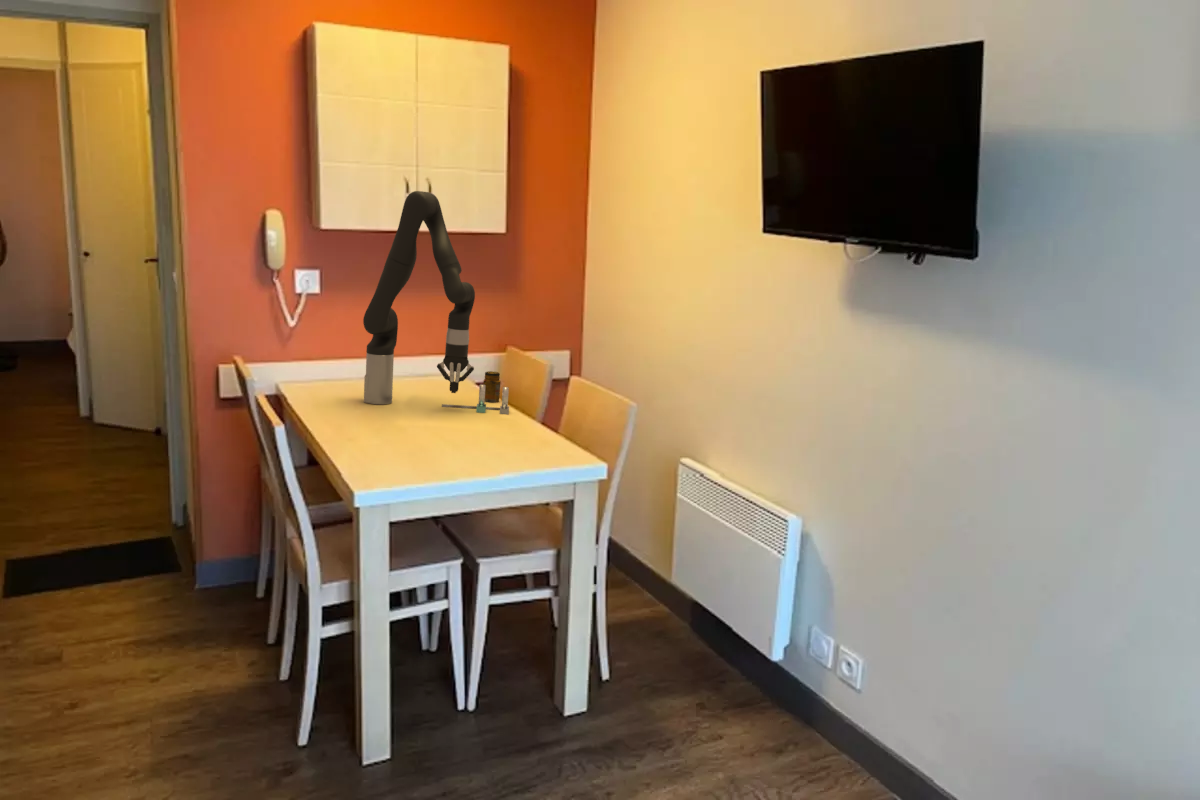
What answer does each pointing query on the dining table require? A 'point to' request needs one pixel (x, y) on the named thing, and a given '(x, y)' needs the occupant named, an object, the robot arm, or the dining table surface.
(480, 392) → the slider leg
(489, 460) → the dining table surface
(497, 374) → the condiment
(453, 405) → the gauge board
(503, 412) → the fixed leg
